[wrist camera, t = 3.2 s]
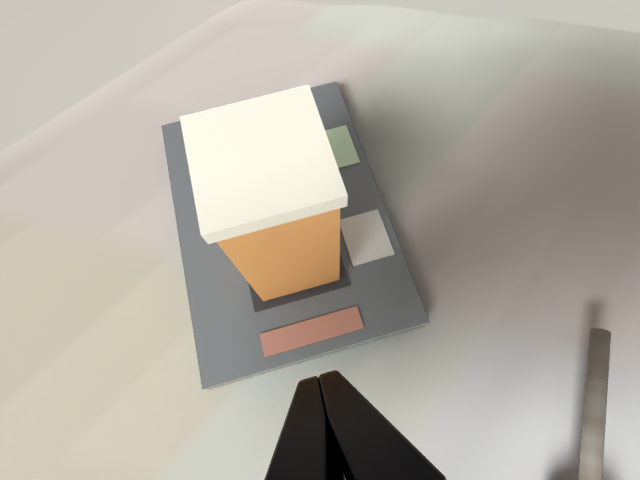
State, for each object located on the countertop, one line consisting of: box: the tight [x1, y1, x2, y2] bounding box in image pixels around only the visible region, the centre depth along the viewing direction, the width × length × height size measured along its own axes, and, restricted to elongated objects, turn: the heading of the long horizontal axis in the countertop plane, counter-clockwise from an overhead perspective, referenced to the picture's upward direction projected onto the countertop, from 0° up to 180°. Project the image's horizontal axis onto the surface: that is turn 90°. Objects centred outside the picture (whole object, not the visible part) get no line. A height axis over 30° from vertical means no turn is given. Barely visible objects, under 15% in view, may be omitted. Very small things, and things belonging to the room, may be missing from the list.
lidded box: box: [180, 84, 348, 302], centre depth 14 cm, size 4×4×8 cm
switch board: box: [162, 82, 429, 389], centre depth 20 cm, size 14×10×1 cm
